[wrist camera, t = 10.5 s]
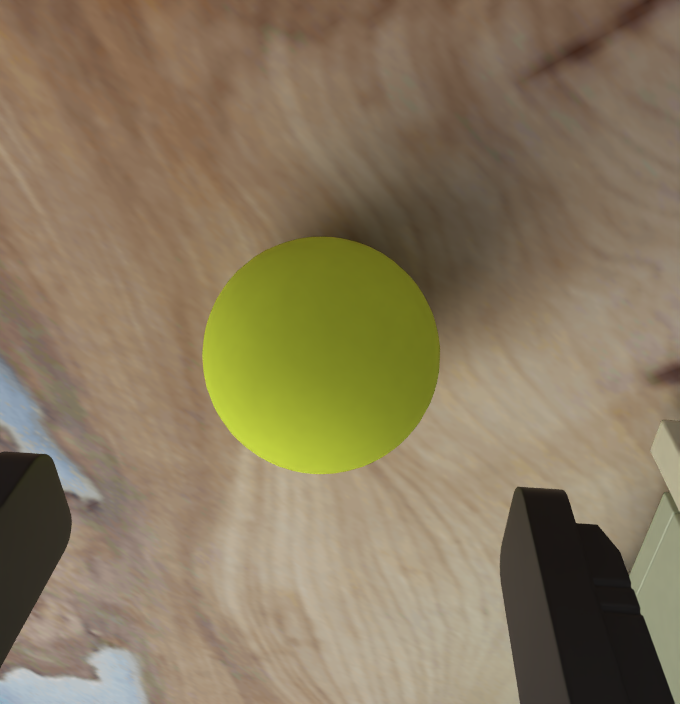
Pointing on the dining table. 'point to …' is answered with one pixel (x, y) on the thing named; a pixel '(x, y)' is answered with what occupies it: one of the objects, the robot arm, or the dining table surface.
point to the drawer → (663, 560)
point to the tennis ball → (321, 355)
